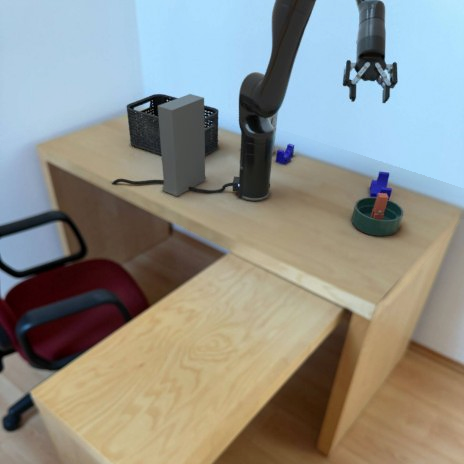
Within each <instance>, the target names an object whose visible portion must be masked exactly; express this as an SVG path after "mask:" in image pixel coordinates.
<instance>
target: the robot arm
mask: <svg viewBox="0 0 464 464" xmlns="http://www.w3.org/2000/svg"><path fill="white" fill-rule="evenodd" d="M317 1H318V0H275V1H274V4H273V8H272V12H271V20H270V21H271V22H270V23H271V26H270V27H271V52H270V57H269V61H268V64H267V66H266V69H265V72H264V73H261V72H257V71H254V72H250V73H249V74H247V75H246V76H245V77H244V78H243V79H242V81H241V85H240V88H239V92H238V125H239V126H238V127H239V129H240V154H239V155H240V156H239V157H240V158H239V169H238V170H239V174H238V176H233V179H232V182H227V183H225V184H223V185H222V187H221V188H219V189H214V190H213V189H204V188H197V187H189V190H188V191H193V192H196V193H202V194H219V193H222V192H224V191H225V190H226V188H228V187H232V192H236V193H237V194H238V199H243V200H246V201H250V202H259V201H264V200H266V199H267V198H268V197H270V196H269V195H270V189H271V173H272V164H273V163H272V162H273V154H274V152H273V143H274V128H273V126H272V124H271V123H270V121H269V118H270V117H272V116H274V115H275V114H276V113H277V112H278V113H279V111H280V109H281V108H282V106H283V103H284V100H285V98H286V95H287V90H288V87H289V83H290V80H291V76H292V73H293V69H294V65H295V62H296V58H297V56H298V53H299V50H300V48H301V44H302V42H303V38H304V36H305V32H306V30H307V27H308V25H309V22H310V20H311V17H312V15H313V12H314V9H315V6H316V3H317ZM355 3H356V8H357V16H358V17H357V19H358V20H357V24H358V25H357V34H356V41H355V42H356V52H355V53H356V54H355V56H356V57H355V62H352V61H351V60H350V59H346V62H345V64H344V65H343V66H344V67H343V75H342V86H343V87H348V89H349V90H348V98H349V100H350V102H352V103H354V102H355V100H356V99H357V84H358V83H359V82H360V81H361V80H362V81H363V82H367V81H369V82H375V81H376V83H377V84H378V86H381V88H382V93H381V94H382V97H381V98H382V101H381V102H382V104H386V103H387V102H388V101H389V99H390V97H391V89H394V88H395V87H396V85H398V82H399V81H398V62H396V61H394V62H392V63H387V62H386V41H387V40H386V36H387V35H386V33H387V32H386V5H385V3H384V2H383V1H382V0H355ZM353 69H354V71H355V72H356V75H355V76H354V77H353V78H352V79H351V78H350V77H351V76H350V75H351V72H352V71H353ZM385 71H387V73H386V72H385ZM387 74H388V75H389V78H388V75H387ZM118 183H125V184H129V185H137V186H138V185H149V184H164V179H147V180H130V179H127V178H117V179H115V180H113V181H112V182H111V185H113V186H115V185H116V184H118Z"/></svg>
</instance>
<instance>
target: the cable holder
mask: <svg viewBox="0 0 464 464" xmlns="http://www.w3.org/2000/svg"><path fill="white" fill-rule="evenodd" d="M294 150H295V144H293V143H288V144H287V145H286V148H285V150H284V149H280V148H279V149H277V150H276V157H275V162H276V163H279V164H281V165H286V164H288V163H290V162H291V160H292V158H293V157H294Z"/></svg>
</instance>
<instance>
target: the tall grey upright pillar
mask: <svg viewBox="0 0 464 464" xmlns="http://www.w3.org/2000/svg"><path fill="white" fill-rule="evenodd" d="M177 98H178V99H175V100H172V101H169V102H167V103H164V104H161V105H159V106H158V118H159V130H160V142H161V155H160V156H161V165H162V180H164V183H163V186H162V191H163V192H165V193H167V194H170V195H173V196H175V197H179V196H181V195H182V194H184V193H186V192H188V191H190V190H189V187H193V188H195V187H196V186H198V185H200V184H202V183H204V182H205V181H206V180H207V177H206V156H205V126H206V125H205V126H204V105H205V97H203V96H199V95H195V94H191V93H189V94H185V95H183V96H180V97H177Z"/></svg>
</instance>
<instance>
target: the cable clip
mask: <svg viewBox="0 0 464 464" xmlns="http://www.w3.org/2000/svg"><path fill="white" fill-rule="evenodd" d="M389 178H390V172H388V171H381V170H380V171H378V175H377V179H371V182H370V186H369V197H377V194H378V193H386V194H387V196H388V197H389V198H388V200H391V199H390V198H391V195H392V192H393V188H391V187H388V182H389Z"/></svg>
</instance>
